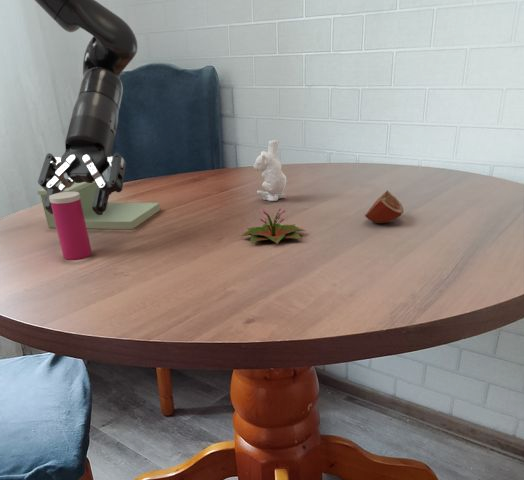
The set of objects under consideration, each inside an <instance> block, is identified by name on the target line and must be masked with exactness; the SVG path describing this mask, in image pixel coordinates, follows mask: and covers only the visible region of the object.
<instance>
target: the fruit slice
mask: <svg viewBox="0 0 524 480" xmlns="http://www.w3.org/2000/svg"><path fill="white" fill-rule="evenodd" d="M403 214H404V207H403V204H402V203H401V202H400V201H399V200H398V199H397V198H396V196H394V195H393V194H392V193H391V192H390V191H389V190H388V189H387V190H386V191H384V193H383V194H382V195H380V196H379V197H378V198H377V199H376V200H375V202H374V203H373V204H372V205H371V207H370V208H369V209H368V211H366V213H365V215H364V216H365V218H367V220H369V221H370V222H372V223H374V224H386V223H389V222H393V221H394V220H396V219H397V218H400V217H401V216H402V215H403Z"/></svg>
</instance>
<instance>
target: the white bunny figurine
mask: <svg viewBox="0 0 524 480" xmlns="http://www.w3.org/2000/svg"><path fill="white" fill-rule="evenodd" d="M279 143H280V142H279V141H278V139H274V140H273V139H272V140H269V141H268V145H267V151H266V150H261V152H260V155H258V156H257V157H256V159H255V161H254V162H255V163H253V169H254V170H256V171H259V172H260V171H262V172H261V178H262V179H263V182H262V184H261V187H262V189H263V190H260V189H259V190H257V191H256V194H257V195H258V196H259V197H260V198H261V200H263V201H268V202H278V200H279V199H282V198H283V199H284V198H287V195H286V194H285V193H283V192H284V190H285V188H286V185H287V182H288V181H287V176H286V175H285V174H284V172H283V171H282V168H283V167H282V166H283V163H282V161H281V159H280V158H279Z"/></svg>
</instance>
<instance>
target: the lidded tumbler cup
mask: <svg viewBox="0 0 524 480" xmlns="http://www.w3.org/2000/svg"><path fill="white" fill-rule="evenodd" d="M49 200H50V202H51V207H52V211H53V215H54V219H55V223H56V228H55V229H56V232H57V235H58V240H59V245H60V249H61V253H62V257H63V259H65V260H74V261H75V260H81V259H85V258H88V257H90V256H91V255H92V253H93V252H92V248H91V241H90V238H89V233H88V228H86V223H85V218H84V214H83V209H82V204H81V199H80V193H79V192H61V193H56V194H52V195H50V196H49Z"/></svg>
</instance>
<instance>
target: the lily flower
mask: <svg viewBox="0 0 524 480" xmlns="http://www.w3.org/2000/svg"><path fill="white" fill-rule="evenodd" d="M281 210H282V208H279V209H278V211H277V213H276V215H274V214H275V213H272V217H271V216H270V215H269V213H267V212H266V211H265V209H262V213H263V214H264V215H265V216H266V217H264V219H262V218H260V219H259V221H260V222H263V223H264V224H263V225H262V226H254V227H253V226H252V227H246V229H247V231H246V232H245V233H244V234H242V235H241V237H245V236H251V235H254V236H251V237H250V239H249V244H251V243H255V242H260V241H267V240H270V241H272V242H274V243H275V244H276V245H278V244H279V243H280V241H281V240H283V239H298V240H299V239H301V240H303V238H302V236H300V234H299V233H296V232H306V230H305V229H303V228H300V227H298V226H296V223H295V224H281V223H282V222H284V220H285V218H282V219H280V218H281V215H282V214H284V213H286V210H283V211H282V212H280V211H281ZM274 216H275V217H274ZM272 219H273V220H272Z"/></svg>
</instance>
